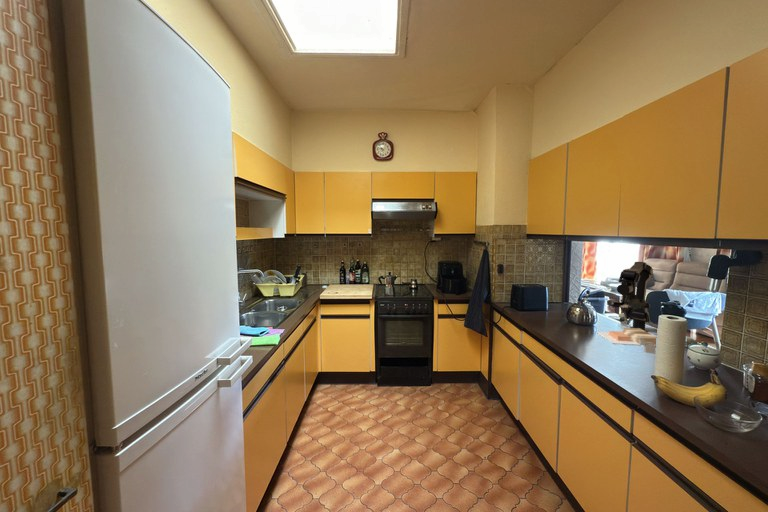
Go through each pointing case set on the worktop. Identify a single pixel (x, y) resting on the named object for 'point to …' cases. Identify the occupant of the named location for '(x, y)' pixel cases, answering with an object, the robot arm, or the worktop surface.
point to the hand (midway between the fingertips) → (627, 318)
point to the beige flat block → (647, 346)
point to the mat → (614, 341)
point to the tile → (619, 336)
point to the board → (635, 332)
